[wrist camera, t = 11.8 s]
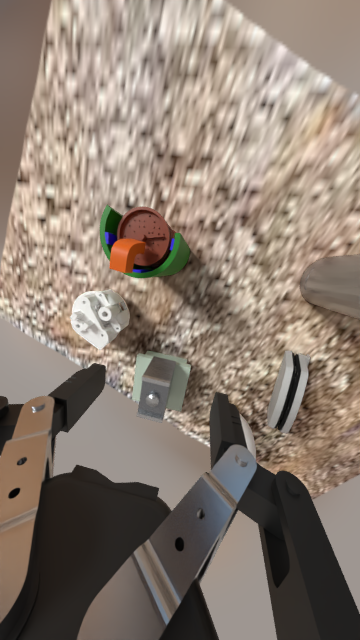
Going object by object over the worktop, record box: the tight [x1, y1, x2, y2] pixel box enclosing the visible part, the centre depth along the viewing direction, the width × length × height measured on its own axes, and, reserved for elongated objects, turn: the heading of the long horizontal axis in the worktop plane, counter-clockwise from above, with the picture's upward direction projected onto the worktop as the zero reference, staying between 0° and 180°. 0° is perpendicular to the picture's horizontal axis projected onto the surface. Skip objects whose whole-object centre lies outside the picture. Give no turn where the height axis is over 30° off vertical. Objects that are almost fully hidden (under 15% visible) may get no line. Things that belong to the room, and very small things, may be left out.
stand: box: [132, 351, 191, 412], centre depth 42 cm, size 12×12×5 cm
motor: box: [100, 205, 190, 278], centre depth 27 cm, size 10×9×20 cm
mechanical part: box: [70, 289, 130, 350], centre depth 36 cm, size 11×12×12 cm
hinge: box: [267, 351, 310, 433], centre depth 38 cm, size 17×5×10 cm, turn 174°
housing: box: [137, 356, 176, 423], centre depth 35 cm, size 5×9×8 cm, turn 169°
